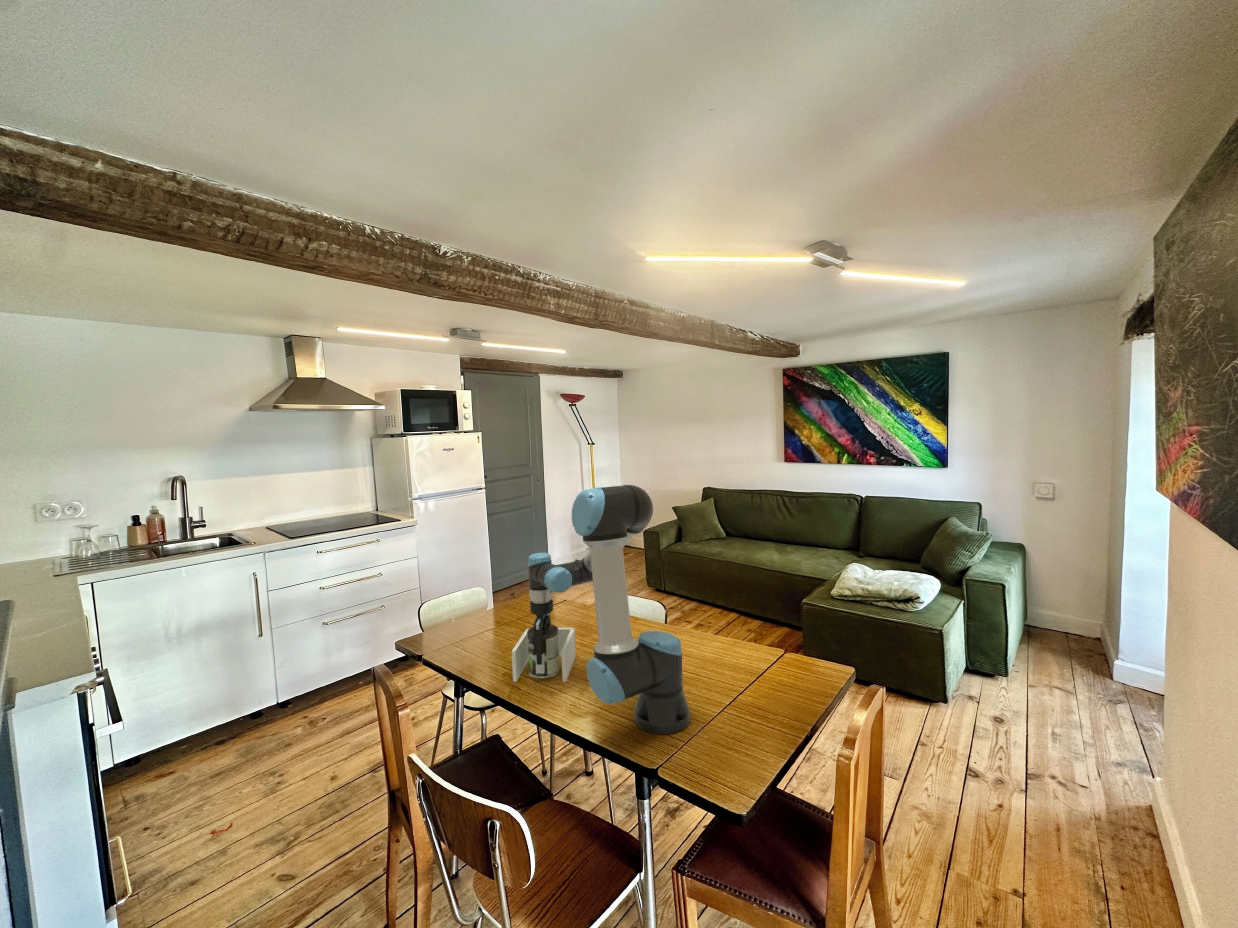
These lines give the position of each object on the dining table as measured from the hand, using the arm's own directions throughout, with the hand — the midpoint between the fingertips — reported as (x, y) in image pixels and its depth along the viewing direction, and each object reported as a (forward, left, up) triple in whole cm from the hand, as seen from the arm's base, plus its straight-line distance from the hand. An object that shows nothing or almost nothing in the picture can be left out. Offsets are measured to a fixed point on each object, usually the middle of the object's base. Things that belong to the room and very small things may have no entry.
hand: (544, 665), depth 163 cm
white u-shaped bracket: (+2, 0, -2) cm, 3 cm away
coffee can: (0, 0, -2) cm, 2 cm away
